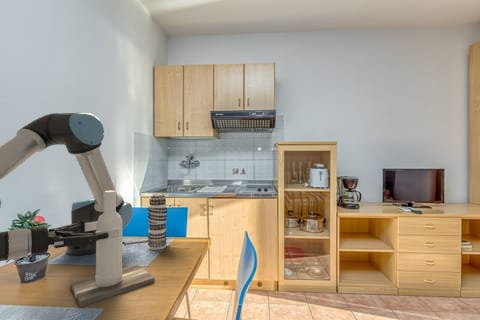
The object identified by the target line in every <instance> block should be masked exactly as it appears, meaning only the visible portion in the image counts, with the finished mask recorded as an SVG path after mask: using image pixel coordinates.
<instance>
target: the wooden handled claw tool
mask: <svg viewBox="0 0 480 320" xmlns="http://www.w3.org/2000/svg"><path fill="white" fill-rule="evenodd" d="M143 243H149V242H148V239H146V240H140V241H139V240H138V241H131V242H130V241H129V242H127V243H125V241H122V245H124V246H125V247H126V246H127V245H133V244H135V245H136V244H143Z"/></svg>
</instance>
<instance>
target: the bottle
mask: <svg viewBox="0 0 480 320" xmlns="http://www.w3.org/2000/svg"><path fill="white" fill-rule="evenodd" d="M116 193H117V191H104V195H103V197H104V213H103V214H102V215H101V216H100V217H99V218H98V221H97V224H96V232H98V231H103V230H109V229H115V228H119V237H117V238H112V239H106V240H101V241H96V252H95V276H96V285H97V286H100V287H109V286H113V285H116V284H118V283H119V282H121V280H122V268H123V244H122V242H123V228H122V218H121V216H120V215H119V214H118V213H117V212H116Z"/></svg>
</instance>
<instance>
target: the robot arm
mask: <svg viewBox="0 0 480 320" xmlns="http://www.w3.org/2000/svg"><path fill="white" fill-rule="evenodd" d="M104 133H105V129H104V125H103V123H102V122H101V119H99V118H98V117H97V116H95V114H92V113H88V112H87V113H86V112H66V113H65V112H63V113H62V112H60V113H58V112H57V113H56V112H55V113H49V114H45V115H43V116H41V117H39V118H36V119H34V120H33V121H31V122H30V123H28V124H26V125H24V126H23V127H22V128H20V129H18V130H17V132H16V136H14V137H13V138H11V139H10V140H8V141H7V142H5V143H4V144H2V145H1V146H0V181H2V180H3V179H4V178H5V177H6V176H8V175H9V174H10V173H12V172H13V171H14V170H16V169H17V168H19V166H20V165H22V164H23V163H24V162H25V161H27V160H28V159H29V158H31V157H32V156H33V155H34V154H36V153H37V152H39V153H40V152H41V153H42V152H43V151H44V150H46V149H48V148H49V147H52V146H55V145H56V146H57V145H58V146H59V145H61V146H62V145H63V146H65V147H66V150H67V152H68V154H70V155H72V156H75V159H76V161H77V162H78V165H79V167H80V170H81V171H82V174H83V176H84V178H85V180H86V182H87V185H88V188H89V190H90V192H91V194H92V195H93V197H94V198H87V199H82V200H77V201H74V202H73V203H72V204H71V210H70V213H71V215H70V216H71V217H70V218H71V219H70V220H71V223H70V224H66V225H63V226H60V227H59V226H58V227H53V228H48V227H47V226H46V225H41V226H34V227H31V228H30V229H28V228H27V227H25V228H19V229H12V230H5V231H0V262H3V261H4V262H5V261H8V260H13V261H18V260H19V259H20V258H25V257H28V256H29V254H30V255H32V256H35V255H41V254H45V253H48V251H49V246H53V248H54V249H59V248H65V247H66V254H68V255H70V256H83V255H90V254H96V241H101V240H106V239H112V238H117V237H119V228H115V229H109V230H103V231H98V232H96V224H97V221H98V218H99V217H100V216H101V215H102V214H103V213H104V197H103V195H104V191H116V188H115V186H114V183H113V181H112V178H111V174H110V172H109V170H108V168H107V165H106V162H105V159H104V158H103V154H102V152H101V149H100V148H101V146H102V145H103V144H102V142H103V140H104V138H105V134H104ZM1 205H2V201H1V199H0V207H2V206H1ZM133 211H134V210H133V205H132V204H131V203H130V202H127V201H126V202H125V201H124V198H123V196H122V195H121V194H118V192H117V191H116V212H117V213H118V214H119V215H120V216H121V218H122V229H124V228H126V227H127V226H128V225H129V224H130V222H131V219H132V216H133Z"/></svg>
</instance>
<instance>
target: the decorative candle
mask: <svg viewBox="0 0 480 320" xmlns="http://www.w3.org/2000/svg"><path fill="white" fill-rule="evenodd" d="M166 198H167V197H166V196H165V195H164V194H162V193H156V194H155V193H154V194H151V195H150V197H148V199H149V201H148V202H149V204H148V207H147V209H146V210H147V211H148V212H147V219H148V220H147V223H148V233H147V235H148V236H147V240H148V242H147V245H148V246H147V248H148V249H149V250H152V251H153V250H154V251H157V250H163V249H165V248H166V247H167V244H168V243H167V236H168V235H167V233H168V232H167V228H166V225H167V224H166V223H167V220H168V219H167V218H168V215H167V214H168V211H167V210H168V207H167V203H166V202H167V199H166Z"/></svg>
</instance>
